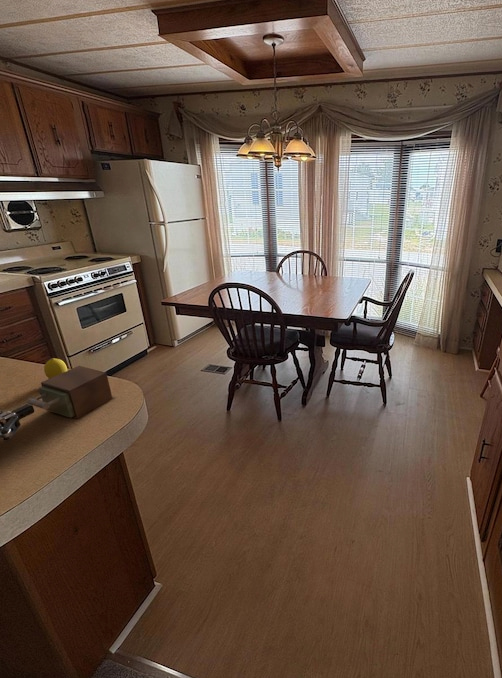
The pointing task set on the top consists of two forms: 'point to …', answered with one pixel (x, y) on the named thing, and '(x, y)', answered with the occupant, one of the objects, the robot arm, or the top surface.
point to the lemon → (54, 367)
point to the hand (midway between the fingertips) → (31, 407)
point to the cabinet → (82, 388)
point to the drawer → (53, 401)
